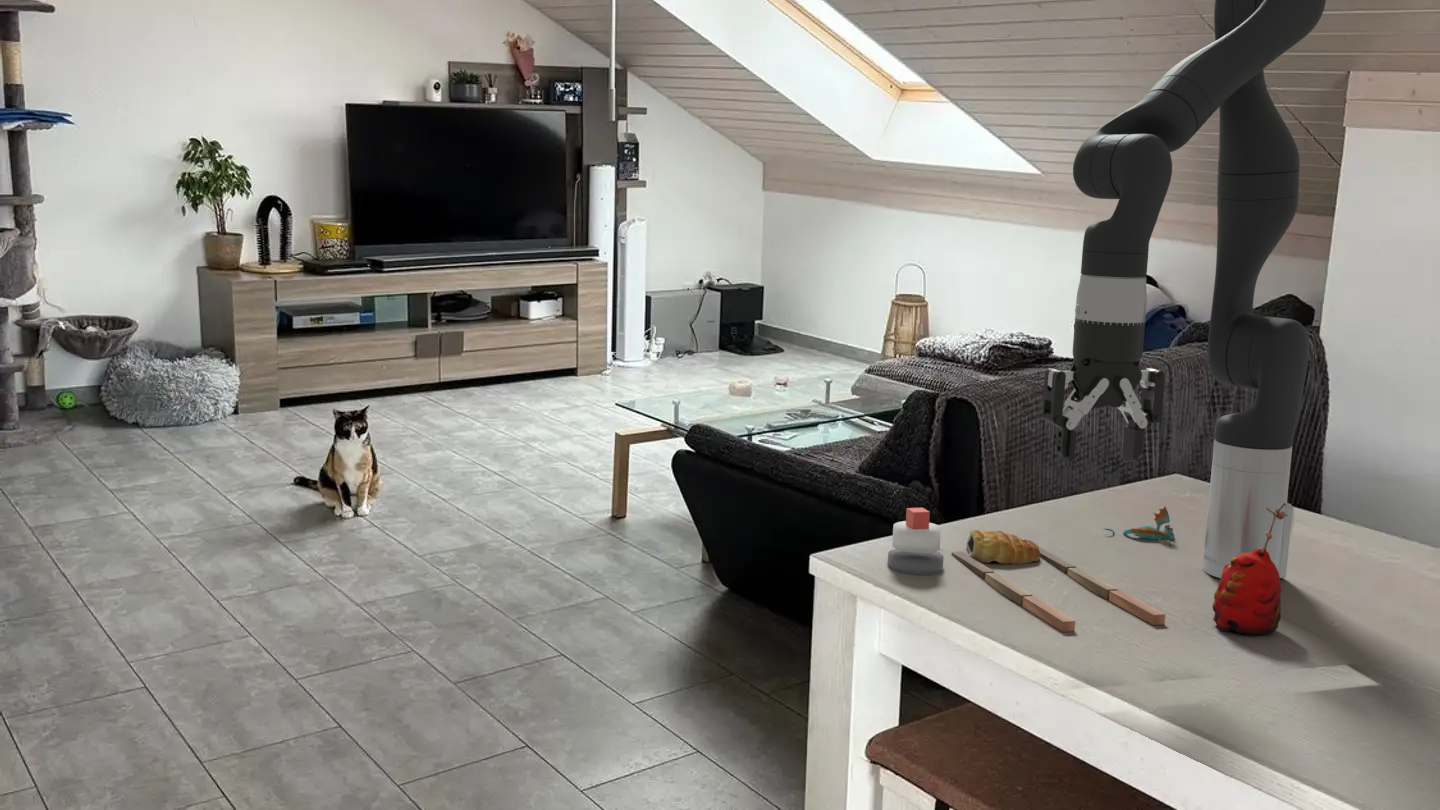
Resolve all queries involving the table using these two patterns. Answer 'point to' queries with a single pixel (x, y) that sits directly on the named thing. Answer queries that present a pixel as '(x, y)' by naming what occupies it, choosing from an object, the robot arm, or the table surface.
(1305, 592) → the table surface
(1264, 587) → the red clay folk toy
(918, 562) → the button base
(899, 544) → the dome button
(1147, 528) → the dragon figurine
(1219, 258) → the robot arm
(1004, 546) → the pastry
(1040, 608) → the track
